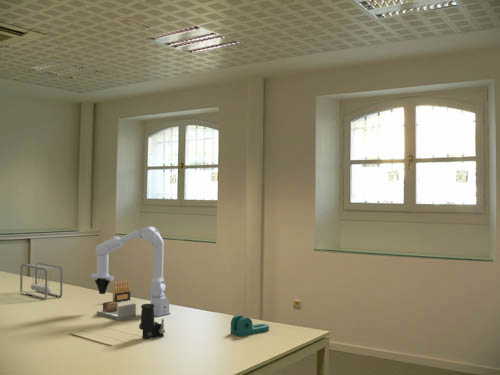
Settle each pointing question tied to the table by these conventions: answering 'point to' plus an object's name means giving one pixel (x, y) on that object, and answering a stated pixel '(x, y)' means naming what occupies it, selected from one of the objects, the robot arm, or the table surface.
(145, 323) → the scope
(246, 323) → the bracket
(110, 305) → the block
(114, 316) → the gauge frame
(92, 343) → the table surface
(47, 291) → the newton's cradle
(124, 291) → the ammunition clip
